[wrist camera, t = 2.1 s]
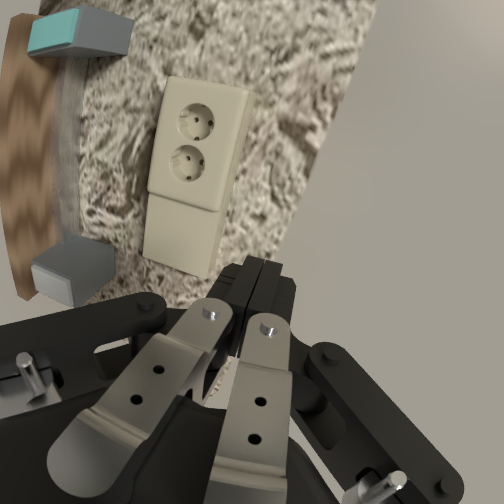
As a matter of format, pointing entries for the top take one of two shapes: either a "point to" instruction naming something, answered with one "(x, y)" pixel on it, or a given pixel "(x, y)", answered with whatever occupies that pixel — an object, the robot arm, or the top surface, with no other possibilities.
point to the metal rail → (67, 147)
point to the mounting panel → (26, 152)
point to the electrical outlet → (194, 171)
